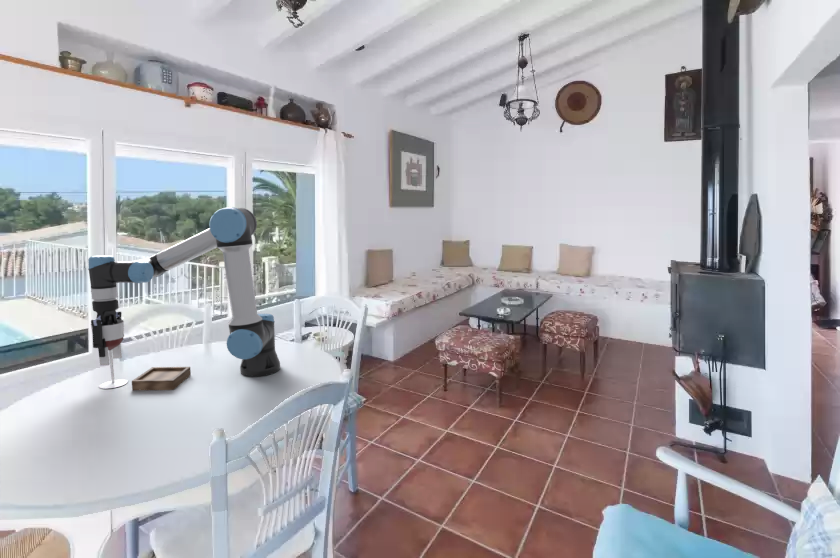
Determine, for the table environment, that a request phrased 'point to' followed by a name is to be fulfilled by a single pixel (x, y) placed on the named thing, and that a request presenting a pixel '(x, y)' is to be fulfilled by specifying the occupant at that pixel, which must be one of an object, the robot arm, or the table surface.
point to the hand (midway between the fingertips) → (111, 361)
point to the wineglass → (113, 339)
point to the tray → (161, 378)
